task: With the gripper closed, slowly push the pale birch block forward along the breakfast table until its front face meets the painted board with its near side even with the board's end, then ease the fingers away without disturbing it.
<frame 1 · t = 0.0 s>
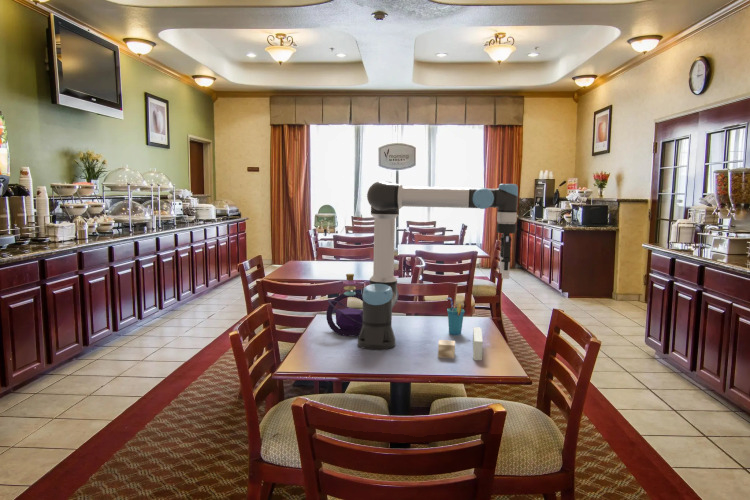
hand: (504, 275, 204), 28 cm above the table, fingers open, 13 cm apart
cup: (453, 333, 221), on the table
decorative bottle: (349, 330, 222), on the table
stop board: (477, 351, 196), on the table
birch block: (446, 355, 191), on the table
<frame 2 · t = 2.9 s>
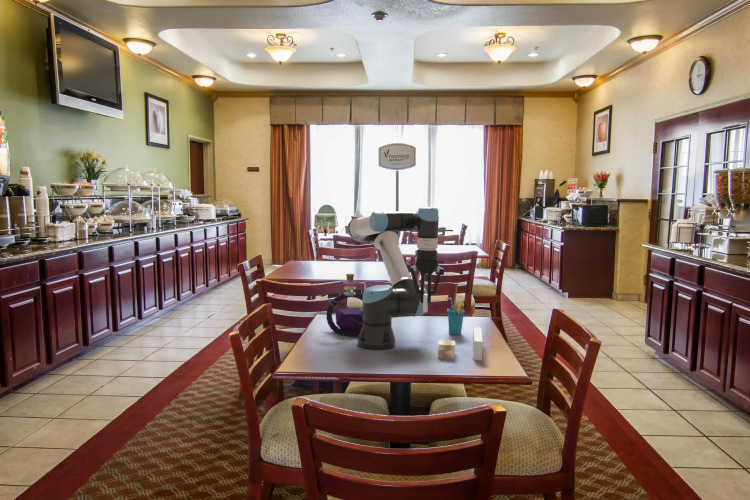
hand: (425, 311, 191), 16 cm above the table, fingers closed
nothing on the table moved.
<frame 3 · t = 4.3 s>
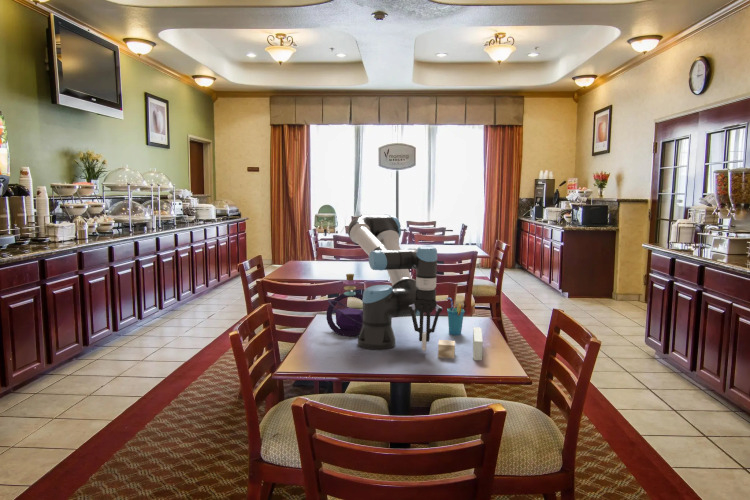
hand: (424, 349, 192), 2 cm above the table, fingers closed
nothing on the table moved.
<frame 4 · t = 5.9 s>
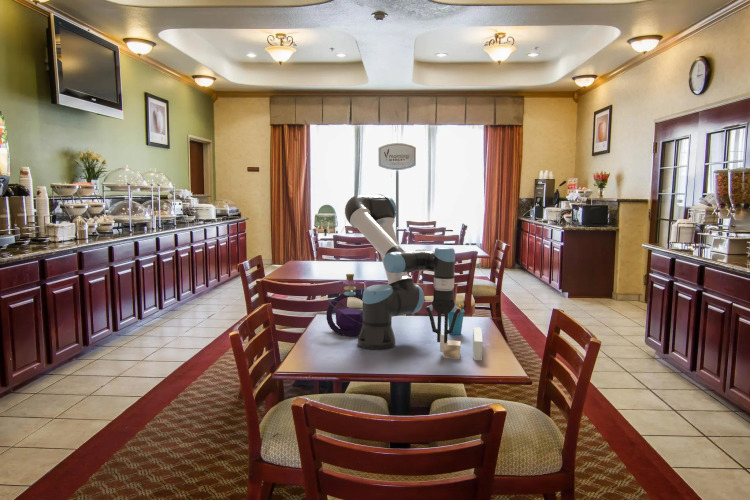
hand: (441, 350, 191), 2 cm above the table, fingers closed
birch block: (451, 355, 191), on the table
everything else where it was.
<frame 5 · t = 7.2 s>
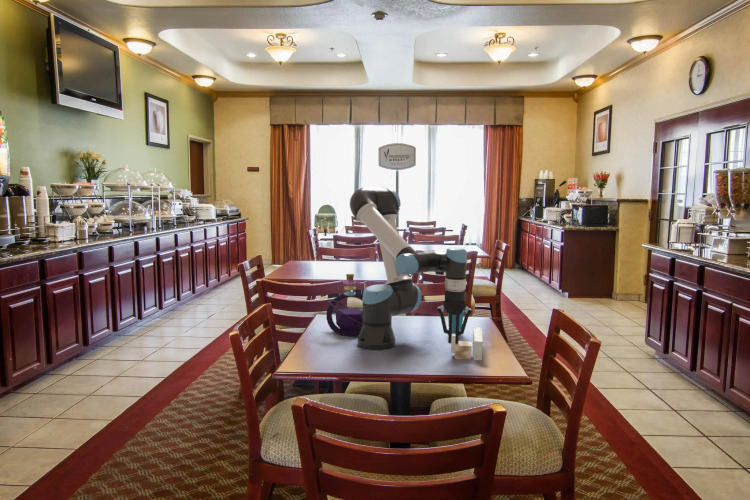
hand: (453, 351, 190), 2 cm above the table, fingers closed
birch block: (462, 356, 190), on the table, touching gripper
everything else where it was.
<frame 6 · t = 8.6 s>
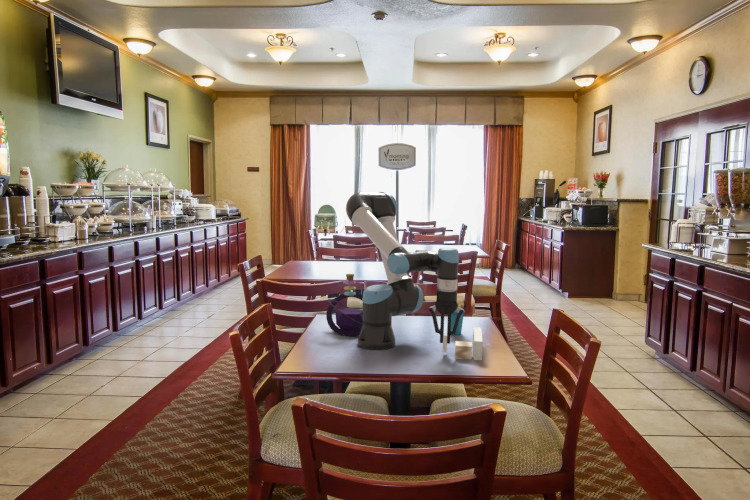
hand: (444, 351, 191), 1 cm above the table, fingers closed
birch block: (463, 356, 190), on the table
everything else where it was.
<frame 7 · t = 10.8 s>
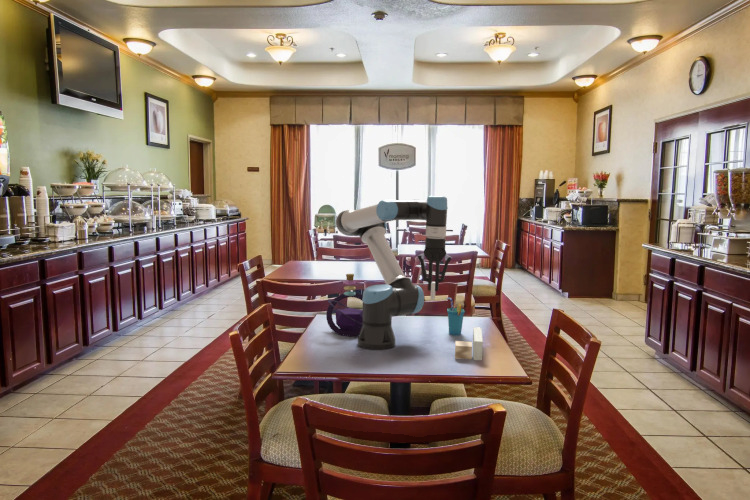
hand: (432, 299, 193), 20 cm above the table, fingers closed
nothing on the table moved.
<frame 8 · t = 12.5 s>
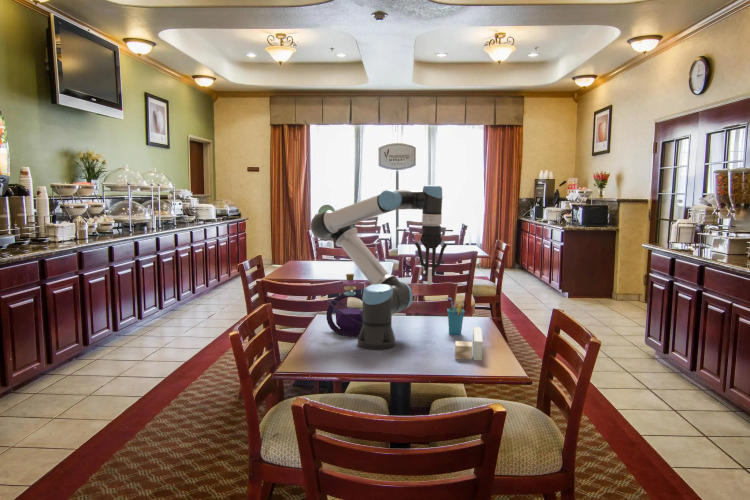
hand: (429, 284, 202), 24 cm above the table, fingers closed
nothing on the table moved.
at the end: birch block 0.3 cm from the target spot on the table beside the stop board, on the table; birch block tilted 0° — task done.
